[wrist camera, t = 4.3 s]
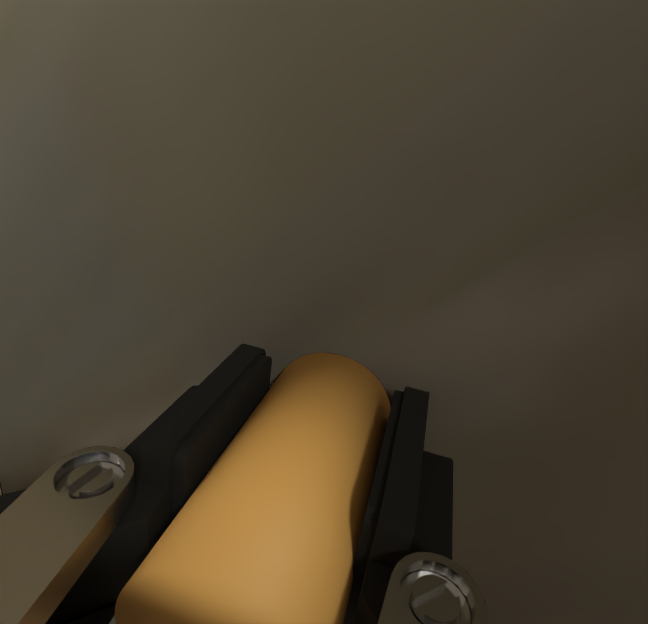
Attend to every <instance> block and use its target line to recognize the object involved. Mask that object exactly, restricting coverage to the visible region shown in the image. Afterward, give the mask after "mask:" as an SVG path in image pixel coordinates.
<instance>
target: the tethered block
mask: <svg viewBox="0 0 648 624" xmlns="http://www.w3.org/2000/svg"><path fill="white" fill-rule="evenodd" d="M390 410H391V408H390V402H389V399H388V396H387V394H386V391H385V389H384V387H383V386H382V384H381V383H380V381H379V380H378V379H377V378H376V376H375V375H374V374H373V373H372V372H371V371H369V370H368V369H367V368H366V367H364V366H363V365H361V364H360V363H358V362H356V361H355V360H352V359H350V358H348V357H345V356H342V355H338V354H333V353H314V354H309V355H305V356H302V357H300V358H298V359H296V360H294V361H293V362H292V363H290V364H289V365H288V366H287V367H286V368H285V369H284V370H283V372H282V373H281V374H280V376H279V377H278V378H277V380H276V381H275V382H274V384H273V385H272V387H271V388H270V389H269V391H268V392H267V393H266V395H265V396H264V397H263V399H262V400H261V401H260V403H259V404H258V406H257V407H256V408H255V410H254V411H253V412H252V414H251V415H250V416H249V418H248V419H247V421H246V422H245V423H244V425H243V426H242V427H241V429H240V430H239V431H238V433H237V434H236V435H235V437H234V438H233V440H232V441H231V442H230V444H229V445H228V446H227V448H226V449H225V450H224V452H223V453H222V455H221V456H220V457H219V459H218V460H217V461H216V463H215V464H214V465H213V467H212V468H211V470H210V471H209V472H208V474H207V475H206V476H205V478H204V479H203V480H202V482H201V483H200V484H199V486H198V487H197V489H196V490H195V491H194V493H193V494H192V495H191V497H190V498H189V499H188V501H187V502H186V504H185V505H184V506H183V508H182V509H181V510H180V512H179V513H178V514H177V516H176V517H175V518H174V520H173V521H172V523H171V524H170V525H169V527H168V528H167V529H166V531H165V532H164V533H163V535H162V536H161V538H160V539H159V540H158V542H157V543H156V544H155V546H154V547H153V548H152V550H151V551H150V553H149V554H148V555H147V557H146V558H145V559H144V561H143V562H142V563H141V565H140V566H139V567H138V569H137V570H136V572H135V573H134V574H133V576H132V577H131V578H130V580H129V581H128V582H127V584H126V585H125V587H124V588H123V589H122V591H121V592H120V594H119V596H118V598H117V601H116V606H115V620H116V624H343V622H344V617H345V613H346V609H347V605H348V600H349V596H350V592H351V587H352V581H353V564H354V559H355V555H356V551H357V547H358V543H359V538H360V534H361V530H362V526H363V521H364V517H365V513H366V509H367V505H368V501H369V497H370V492H371V488H372V484H373V480H374V476H375V472H376V468H377V463H378V459H379V455H380V451H381V447H382V443H383V439H384V434H385V430H386V426H387V422H388V418H389V414H390Z"/></svg>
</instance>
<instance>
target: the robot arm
mask: <svg viewBox="0 0 648 624" xmlns="http://www.w3.org/2000/svg"><path fill="white" fill-rule="evenodd" d="M271 364H272V359H271V357H269V356H266V352H265V350H264V349H261V348H258V347H254V346H250V345H246V344H241V345H240V346H239V347H238V348H237V349H236V350H235V351H234V352H233V353H232V354H231V355H230V356H229V357H228V358H226V359H225V360H224V361H223V362H222V363H221V364H220V365H219V366H218V367H217V368H216V369H215V370H214V371H213V372H212V373H211V374H210V375H209V376H208V377H207V378H206V379H205V380H204V381H203V382H202V383H201V384H200V385H199V386H192V387H191V388H189V389H188V390H187V391H186V392H185V393H184V394H183V395H182V396H181V397H179V398H178V399H177V400H176V401H175V402H174V403H173V404H172V405H171V406H170V407H169V408H168V409H167V410H166V411H165V412H164V413H163V414H162V415H160V416H159V417H158V418H157V419H156V420H155V421H154V422H153V423H152V424H151V425H150V426H149V427H148V428H147V429H146V430H145V431H144V432H142V433H141V434H140V435H139V436H138V437H137V438H136V439H135V440H134V441H133V442H132V443H131V444H130V445H129V446H128V447H127V448H126V449H125V450H120V449H118V448H115V447H108V446H95V447H87V448H84V449H80V450H76V451H74V452H72V453H70V454H68V455H66V456H64V457H62V458H61V459H60V460H58V461H57V462H56V463H54V464H53V465H52V466H51V467H50V468H49V469H48V470H47V471H46V472H44V473H43V474H42V475H41V476H40V477H39V478H38V479H37V480H36V481H35V482H34V483H33V484H32V485H31V486H30V487H29V488H28V489H25V490H21V491H17V492H13V493H9V494H4V495H0V624H116V620H115V606H116V601H117V598H118V596H119V594H120V592H121V591H122V589H123V588H124V587H125V585H126V584H127V582H128V581H129V580H130V578H131V577H132V576H133V574H134V573H135V572H136V570H137V569H138V567H139V566H140V565H141V563H142V562H143V561H144V559H145V558H146V557H147V555H148V554H149V553H150V551H151V550H152V548H153V547H154V546H155V544H156V543H157V542H158V540H159V539H160V538H161V536H162V535H163V533H164V532H165V531H166V529H167V528H168V527H169V525H170V524H171V523H172V521H173V520H174V518H175V517H176V516H177V514H178V513H179V512H180V510H181V509H182V508H183V506H184V505H185V504H186V502H187V501H188V499H189V498H190V497H191V495H192V494H193V493H194V491H195V490H196V489H197V487H198V486H199V484H200V483H201V482H202V480H203V479H204V478H205V476H206V475H207V474H208V472H209V471H210V470H211V468H212V467H213V465H214V464H215V463H216V461H217V460H218V459H219V457H220V456H221V455H222V453H223V452H224V450H225V449H226V448H227V446H228V445H229V444H230V442H231V441H232V440H233V438H234V437H235V435H236V434H237V433H238V431H239V430H240V429H241V427H242V426H243V425H244V423H245V422H246V421H247V419H248V418H249V416H250V415H251V414H252V412H253V411H254V410H255V408H256V407H257V406H258V404H259V403H260V401H261V400H262V399H263V397H264V396H265V395H266V393H267V392H268V391H269V383H270V374H271ZM428 401H429V392H425V391H422V390H418V389H414V388H410V387H405V391H404V392H401V391H397V390H395V393H394V397H393V401H392V405H391V410H390V414H389V418H388V422H387V426H386V430H385V434H384V439H383V443H382V447H381V451H380V455H379V459H378V463H377V468H376V472H375V476H374V480H373V484H372V488H371V492H370V497H369V501H368V505H367V509H366V513H365V517H364V521H363V526H362V530H361V534H360V538H359V543H358V547H357V551H356V555H355V559H354V564H353V581H352V587H351V592H350V596H349V600H348V605H347V609H346V613H345V617H344V622H343V624H487V613H486V605H485V600H484V598H483V596H482V593H481V591H480V589H479V587H478V585H477V584H476V583H475V581H474V580H473V578H472V577H471V576H470V574H469V573H467V572H466V571H465V570H464V569H463V568H462V567H461V566H459V565H458V564H457V563H455V562H454V561H452V513H453V461H452V459H450V458H447V457H443V456H440V455H436V454H433V453H429V452H426V451H423V448H424V439H425V429H426V420H427V410H428Z"/></svg>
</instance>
